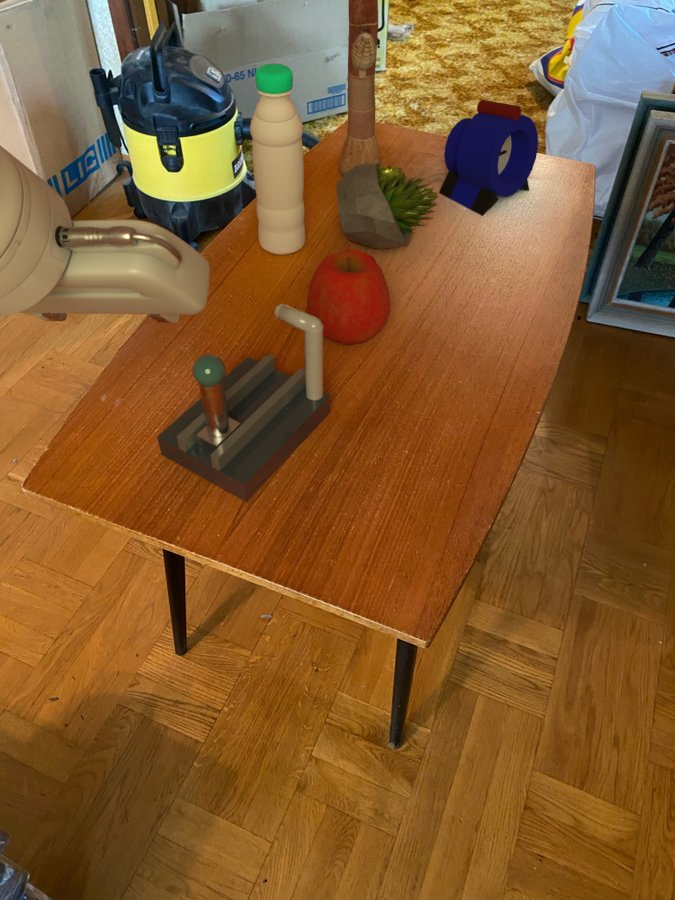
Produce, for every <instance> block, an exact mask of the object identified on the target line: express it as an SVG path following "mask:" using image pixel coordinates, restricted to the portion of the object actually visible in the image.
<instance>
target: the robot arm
mask: <svg viewBox="0 0 675 900" xmlns="http://www.w3.org/2000/svg"><path fill="white" fill-rule="evenodd" d="M71 217H72V216H71V214H70V211H69V208H68V206H67V204H66V202H65V200H64V199H63V198H62V196H61V195H60V193H59V192H58V191H57V190H56V189H55V188H54V187H53V186H51V184H49V183H47V182H46V181H45V180H44V179H43V178H41V177H40V176H39V175H38V174H37V173H35V172H34V171H33V170H32V169H30V168H29V167H28V166H26V165H25V163H23V162H22V161H20V160H19V159H18V158H17V157H15V156H14V155H13V154H12V153H10V152H9V151H8V150H7V149H5V148H4V147H3V146H2V145H0V318H5V317H10V316H15V315H17V314H25V315H30V316H35V317H37V318H39V319H42V320H44V321H45V322H64V321H66V320H67V317H68V314H82V315H83V314H85V315H86V314H88V315H89V314H90V315H91V314H94V315H98V314H100V315H149V318H150V319H153V320H155V321H156V322H157V323H169V324H177V323H178V322H179V321H180V315H183V316H184V315H188V316H194V315H198V314H200V313H201V312H203V310H204V309H205V308H206V306H207V302H208V297H209V292H210V281H211V280H210V279H211V267H210V263H209V261H208V259H207V258H206V257H205V256H203V255H202V254H201V253H200V252H199V251H197V250H196V249H195V248H194V247H192V246H191V245H190V244H189V243H187V242H186V241H184V240H183V239H181V238H180V237H178V235H176V234H174V233H173V232H171V231H170V230H168V229H166V228H164V227H162V226H161V225H158V224H156V223H154V222H150V221H146V220H139V219H88V220H87V219H85V220H83V219H81V220H72V218H71Z"/></svg>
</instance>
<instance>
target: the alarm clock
mask: <svg viewBox="0 0 675 900" xmlns="http://www.w3.org/2000/svg"><path fill="white" fill-rule="evenodd" d="M476 111H477V113H476V114H475V115H473V117H472V118H471V117H465V118H462V119H460V120H459V121H457V122H456V124H455V125H454V126H453V127H452V128H451V130H450V131H449V133H448V136H447V138H446V142H445V146H444V154H443V156H444V164H445V167H446V169H447V173H446V176H445V178H444V180H443V183H442V185H441V187H440V189H439V192H438V194H440V195H442V196H444V197H446V198H447V199H450V200H452V202H455V203H457V204H459V205H461V206H463V207H465V208H467V209H468V210H470V211H473V212H475V213H476V214H478V215H480V216H482V217H484V215H486V213H487V212H488V211H490V209H491V208H492V207H493V206H494V205H495V204H496V203H497V202H499V200H500V198H499V197H502V198H507V197H511V196H513V195H515V194H516V193H517V192H519V191H527V192H528V191H530V186H529V185H530V184H529V180H528V179H529V177H530V175H531V173H532V172H533V169H534V166H535V163H536V160H537V155H538V148H539V133H538V129H537V126H536V124H535V122H534V121H533V119H532V118H531V117H529V116H527V115H524V114H522V107H521V106H520V105H515V104H510V103H506V102H505V103H503V102H497V101H491V100H486V99H480V100H479V101H478V103H477V106H476ZM498 196H499V197H498Z"/></svg>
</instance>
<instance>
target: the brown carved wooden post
mask: <svg viewBox="0 0 675 900" xmlns="http://www.w3.org/2000/svg"><path fill="white" fill-rule="evenodd" d="M378 34H379V0H348V47H347V77H346V80H347V96H346V97H347V131H346V132H347V133H346V136H345V139H344V143H343V144H342V147H341V151H340V156H339V164H338V171H339V174H340V175H341V178H342V177H343V176H344V175H345V174H346V173H347V172H349V171H350V170H351V169H352V168H354V167H355V166H357V165H361V164H364V163H368V164H377V163H379V166H382V161H381V152H380V148H379V147H380V146H379V143H378V140H377V139H378V138H377V136H376V107H377V106H376V94H375V92H376V91H375V77H376V66H377V54H378Z"/></svg>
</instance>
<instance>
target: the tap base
mask: <svg viewBox="0 0 675 900" xmlns="http://www.w3.org/2000/svg"><path fill="white" fill-rule="evenodd" d="M273 314H274V317H275V318H276V319H277V320H278V321H280V322H282V323H285V324H287V325H290V326H292V327H294V328H296V329H298V330H300V331H303V335H304V336H303V337H304V342H303V343H304V369H303V368H300V367H299V369H297V371H296V372H294V373H293V374H292V375H291V376H290V375H289V374H286V373H284V372H282V371H281V370H278V369H276V359H275V358H276V357H275V356H274V355H272V354H269V353H266V355H265V356H264V357H262V358H261V359H260V361H259V360H256V359H254V358H252V357H250V356H246V357H245V358H244V359H243V360H242V361H241V362H240V363H239V364H238V365H237V366H235V367H234V368H233V369H232V370H231V371H229V372H228V373H226V374H225V377H224V379H223V384H224V390H225V397H226V404H227V411H228V417H229V418H231V419H233V420H235V421H237V422H239V423H241V426H239V427H238V428H237V429H236V430H235V431H234V432H233V433H232V434H231V435H230V436H229V437H228V438H227V439H226V440H225V441H224V442H223V443H222V444H221V445H220V446H219V447H218V448H217V449H216V450H215V451H214V452H211V451H209V450H207V449H205V448H203V447H202V446H200V445H198V442H197V437H196V435H197V434H198V433H199V432H200V431H201V430H202V429H203V428H204V427H205V426H206V421H205V415H204V410H203V404H202V398H201V397H200V398H199V399H197V401H195V403H193V404H192V405H191V406H190V407H189V408H188V409H186V410H185V411H184V412H183V413H182V414H181V415H180V416H178V417H177V418H176V419H175V420H174V421H173V422H172V423H170V424H169V426H167V427H166V428H165V429H164V430H163V431H161V432H160V433H159V434H158V435H157V436H156V439H157V443H158V447H159V450H160V454H161V456H163V457H165V458H167V459H169V460H170V461H172V462H174V463H176V464H177V465H179V466H181V467H183V468H185V469H186V470H188V471H190V472H191V473H193V474H195V475H197V476H199V477H201V478H202V479H204V480H206V481H208V482H210V483H211V484H213V485H215V486H217V487H218V488H221V489H222V490H224V491H226V492H227V493H229V494H231V495H233V496H235V497H236V498H238V499H239V500H241V501H243V502H245V503H247V502H248V501H250V499H251V498H252V497H253V496H254V495H255V494H256V493H257V492H258V490H259V489H260V488H261V487H262V486H264V484H265V483H266V482H267V481H268V480H269V479H270V478H271V477H272V476H273V474H274V473H275V472H277V470H278V469H279V468H280V467H281V466H282V465H283V464H284V463H285V461H287V460H288V458H289V457H290V456H291V455H292V454H293V453H294V452H295V451H296V450H297V449H298V448H299V447H300V446H301V445H302V443H303V442H305V440H306V439H307V438H309V436H310V435H311V434H312V433H313V432H314V431H315V429H316V428H318V427H319V425H320V424H321V423H322V422H323V421H324V420H325V419H326V418H327V417H328V416H329V415H330V413H331V394H329V393H327V392H325V391H324V335H323V324H322V322H321V321H320V319H319V318H317V317H314V316H312V315H310V314H309V313H307V312H305V311H303V310H300V309H298V308H296V307H293V306H291V305H289V304H286V303H280V304H277V305H276V307H275V308H274V311H273Z"/></svg>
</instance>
